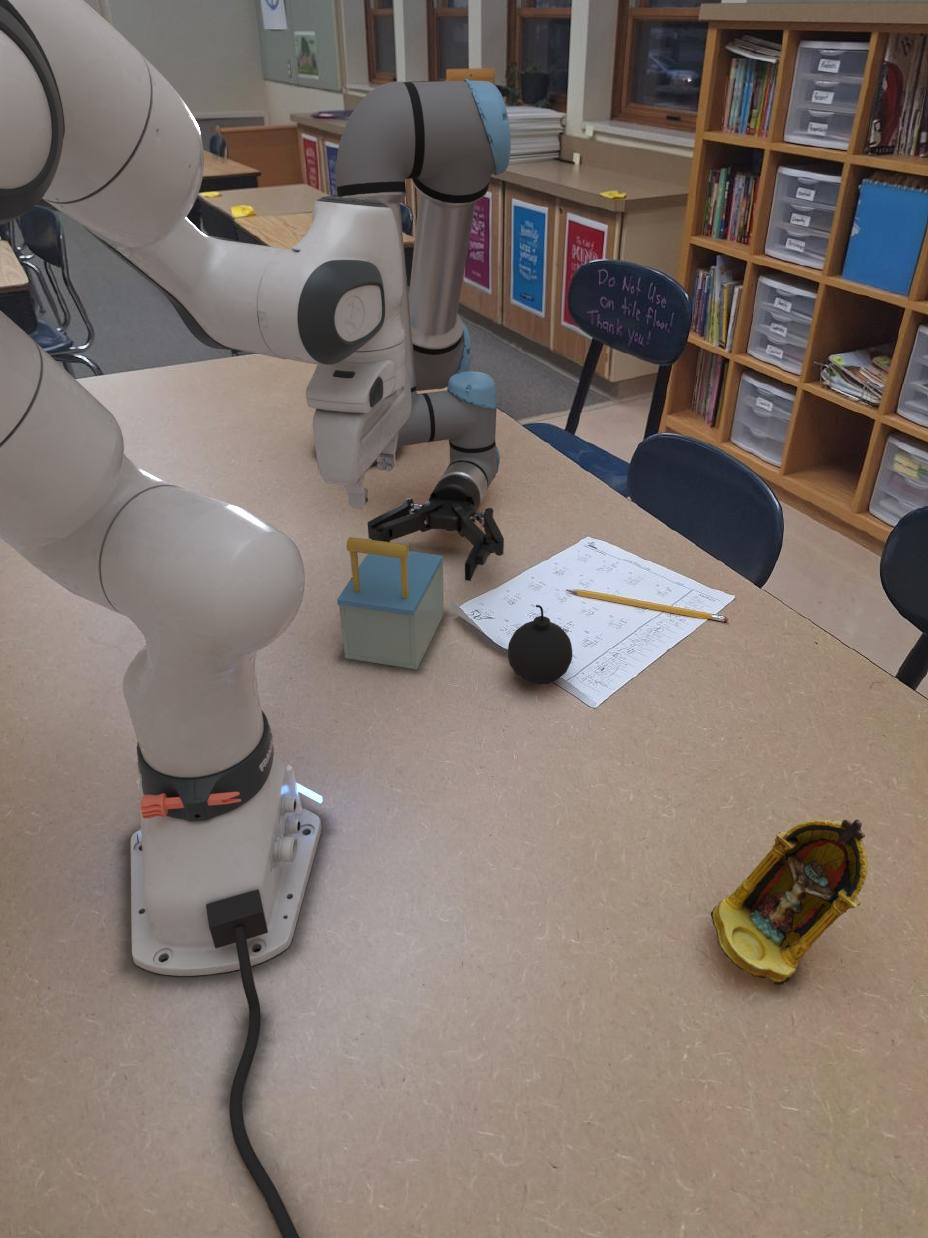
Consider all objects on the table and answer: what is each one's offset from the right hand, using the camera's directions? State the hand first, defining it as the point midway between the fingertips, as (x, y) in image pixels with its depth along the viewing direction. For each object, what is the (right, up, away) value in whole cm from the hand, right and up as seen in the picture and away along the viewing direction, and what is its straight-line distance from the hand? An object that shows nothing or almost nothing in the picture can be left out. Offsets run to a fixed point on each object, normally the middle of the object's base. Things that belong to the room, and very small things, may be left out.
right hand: (419, 566), depth 118 cm
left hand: (-4, +8, -20) cm, 22 cm away
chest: (-3, -9, -2) cm, 10 cm away
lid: (-3, -2, -8) cm, 9 cm away
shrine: (+33, -37, -41) cm, 64 cm away
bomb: (+15, -15, -10) cm, 24 cm away
